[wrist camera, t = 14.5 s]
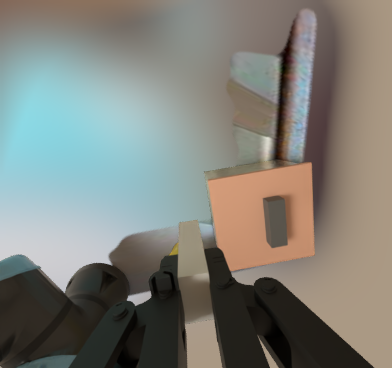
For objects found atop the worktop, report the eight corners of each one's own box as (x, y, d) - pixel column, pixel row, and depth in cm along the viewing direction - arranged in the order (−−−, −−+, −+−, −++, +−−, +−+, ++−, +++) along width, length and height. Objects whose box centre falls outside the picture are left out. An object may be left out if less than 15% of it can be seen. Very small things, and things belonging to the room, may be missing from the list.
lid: (221, 268, 41) (224, 280, 38) (207, 179, 37) (209, 183, 33) (310, 252, 42) (322, 262, 38) (307, 162, 37) (320, 164, 34)
